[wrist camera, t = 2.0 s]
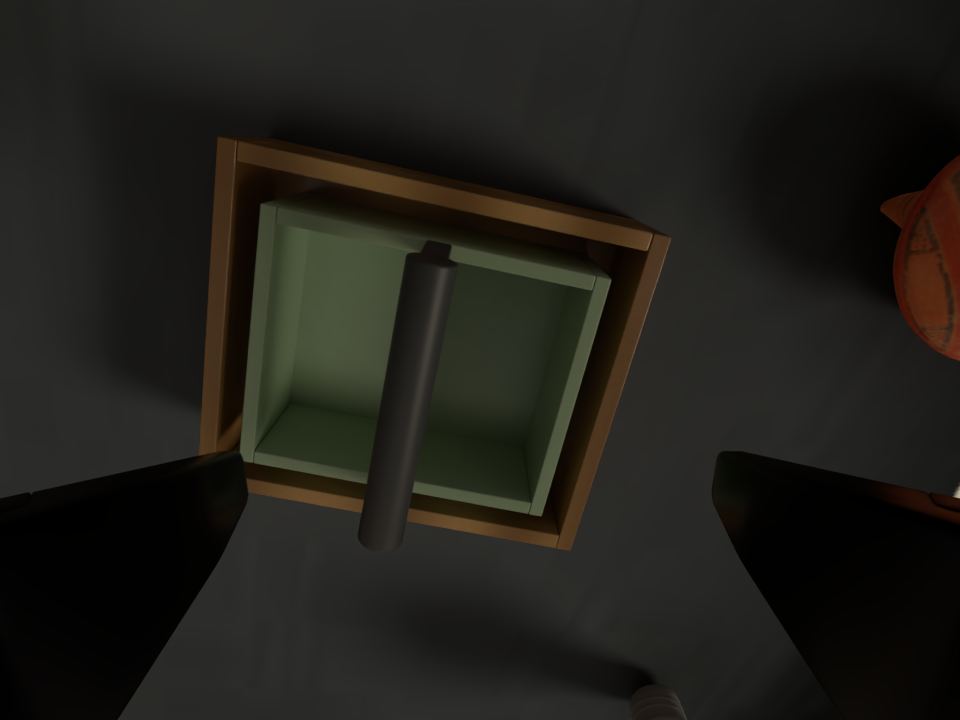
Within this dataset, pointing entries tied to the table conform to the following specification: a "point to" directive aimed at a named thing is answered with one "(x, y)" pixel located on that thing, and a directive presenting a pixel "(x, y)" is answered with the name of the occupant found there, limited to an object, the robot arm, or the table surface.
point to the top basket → (413, 357)
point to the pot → (930, 259)
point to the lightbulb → (655, 704)
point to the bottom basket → (297, 168)
